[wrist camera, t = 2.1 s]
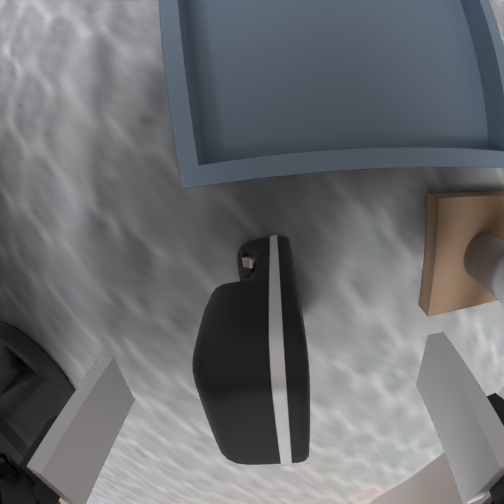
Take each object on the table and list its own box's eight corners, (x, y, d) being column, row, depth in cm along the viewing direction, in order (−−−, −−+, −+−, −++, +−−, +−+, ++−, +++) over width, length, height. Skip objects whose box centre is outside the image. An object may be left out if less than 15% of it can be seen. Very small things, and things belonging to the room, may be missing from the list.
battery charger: (224, 236, 18) (166, 363, 8) (288, 229, 18) (311, 357, 7) (240, 332, 21) (217, 479, 10) (295, 328, 20) (309, 477, 10)
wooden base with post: (418, 304, 19) (475, 384, 11) (426, 193, 16) (515, 234, 8) (496, 288, 18) (558, 345, 10) (508, 190, 16) (591, 223, 8)
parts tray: (196, 181, 17) (181, 189, 14) (171, -21, 12) (156, -42, 10) (491, 162, 15) (518, 168, 12) (456, -16, 10) (476, -29, 8)
